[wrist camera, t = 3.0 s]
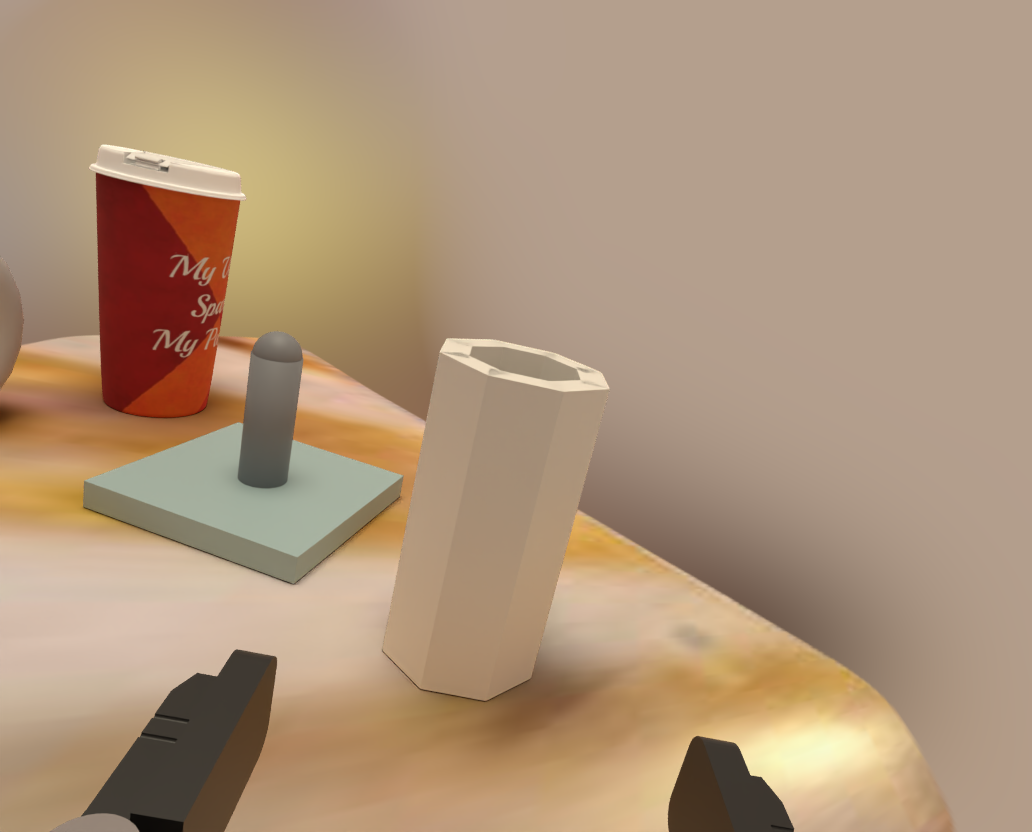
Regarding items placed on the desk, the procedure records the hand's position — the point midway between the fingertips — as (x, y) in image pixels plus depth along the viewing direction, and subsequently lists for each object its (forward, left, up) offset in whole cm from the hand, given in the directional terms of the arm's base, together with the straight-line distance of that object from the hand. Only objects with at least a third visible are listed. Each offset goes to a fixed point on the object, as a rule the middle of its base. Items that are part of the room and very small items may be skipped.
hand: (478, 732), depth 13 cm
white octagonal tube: (-3, +11, -6) cm, 13 cm away
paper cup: (-27, +23, -6) cm, 36 cm away
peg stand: (-15, +16, -6) cm, 23 cm away
